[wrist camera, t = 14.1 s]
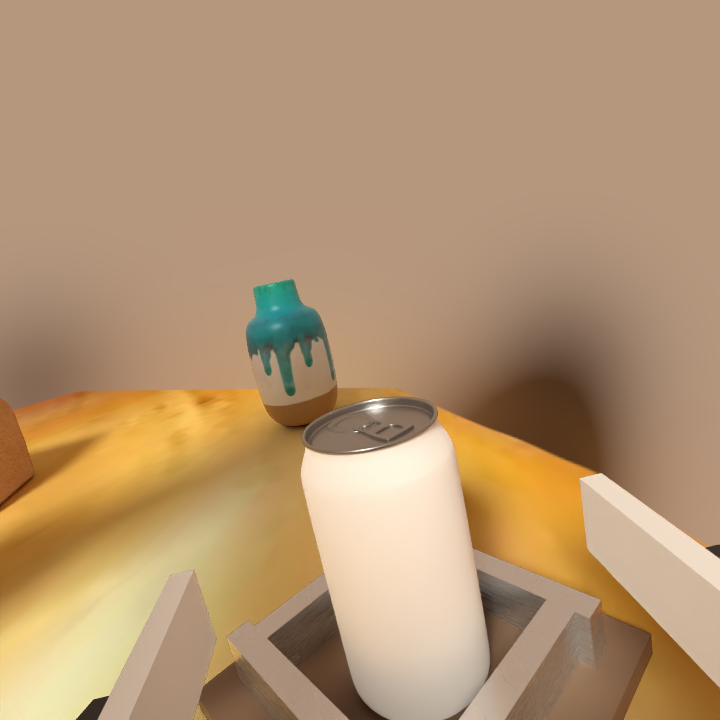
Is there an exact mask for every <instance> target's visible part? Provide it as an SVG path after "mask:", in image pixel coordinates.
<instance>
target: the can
mask: <svg viewBox="0 0 720 720" xmlns="http://www.w3.org/2000/svg"><path fill="white" fill-rule="evenodd" d="M437 415H438V411H437V408H436V407H435V405H434V404H432V403H431V402H429V401H427V400H424V399H420V398H415V397H385V398H377V399H371V400H366V401H361V402H357V403H353V404H350V405H347V406H344V407H341V408H338V409H335V410H333V411H331V412H328V413H326V414H324V415H322V416H321V417H319V418H317V419H316V420H314V421H313V422H312V423H310V424H309V425H308V426H307V427H306V428H305V430H304V431H303V433H302V437H301V439H302V443H303V444H304V446H305V453H304V458H303V462H302V467H301V480H302V485H303V490H304V494H305V498H306V503H307V507H308V511H309V515H310V519H311V523H312V527H313V531H314V534H315V538H316V542H317V546H318V550H319V554H320V558H321V562H322V566H323V570H324V574H325V578H326V581H327V585H328V589H329V593H330V597H331V601H332V605H333V609H334V612H335V616H336V620H337V624H338V628H339V632H340V635H341V639H342V643H343V647H344V651H345V654H346V658H347V662H348V666H349V669H350V673H351V676H352V680H353V683H354V685H355V688H356V690H357V692H358V694H359V695H360V697H361V698H362V700H363V701H364V702H365V703H366V704H367V705H368V706H369V707H370V708H371V709H372V710H373V711H375V712H376V713H378V714H379V715H381V716H383V717H385V718H387V719H389V720H446V719H448V718H450V717H452V716H454V715H456V714H457V713H459V712H460V711H461V710H463V709H464V708H465V707H467V706H468V705H469V704H470V703H471V702H472V701H473V699H474V698H475V697H476V695H477V694H478V693H479V691H480V690H481V689H482V687H483V686H484V684H485V681H486V679H487V676H488V672H489V667H490V649H489V642H488V635H487V629H486V623H485V617H484V611H483V605H482V599H481V593H480V588H479V582H478V576H477V570H476V565H475V559H474V553H473V547H472V542H471V536H470V530H469V524H468V519H467V513H466V508H465V502H464V496H463V491H462V485H461V480H460V474H459V469H458V463H457V458H456V454H455V449H454V446H453V442H452V440H451V438H450V436H449V435H448V433H447V432H446V431H445V429H444V428H443V427H442V425H441V424H440V423H439V421H438V420H437Z"/></svg>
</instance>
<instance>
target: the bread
mask: <svg viewBox="0 0 720 720" xmlns="http://www.w3.org/2000/svg"><path fill="white" fill-rule="evenodd" d="M34 473H35V471H34V468H33V465H32V462H31V459H30V456H29V453H28V449H27V446H26V442H25V440H24V437H23V435H22V432H21V430H20V427H19V425H18V422H17V419H16V416H15V414H14V412H13V411H12V409H11V408H10V406H9V405H8V403H7V402H5V401H4V400H2V399H0V504H2V503H3V502H4V501H5V500H6V499H7V498H9V497H10V496H11V495H12V494H13V493H14V492H15V491H17V490H18V489H19V488H20V487H21V486H22V485H23V484H25V483H26V482H27V481H28V480H29V479H30V478H31V477H32V476H33V475H34Z"/></svg>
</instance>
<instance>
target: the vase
mask: <svg viewBox="0 0 720 720" xmlns="http://www.w3.org/2000/svg"><path fill="white" fill-rule="evenodd" d="M253 291H254V296H255V302H256V308H257V311H256V315H255V317H254V318H253V319H252V320H251V321H250V322H249V324H248V325H247V330H246V339H247V346H248V352H249V356H250V361H251V365H252V369H253V373H254V377H255V380H256V383H257V387H258V390H259V393H260V396H261V398H262V401H263V404H264V406H265V408H266V410H267V412H268V414H269V415H270V416H271V417H272V418H273V419H274V420H275V421H276V422H278V423H280V424H283V425H287V426H299V425H305V424H309V423H312V422H313V421H314V420H316V419H317V418H319V417H321V416H322V415H324V414H326V413H328V412H331V410H332V409H333V408H334V406H335V403H336V399H337V382H336V375H335V369H334V363H333V359H332V354H331V350H330V346H329V342H328V338H327V334H326V331H325V328H324V325H323V322H322V320H321V317H320V316H319V314H318V313H317V311H315V309H313V308H310V307H307V306H305V305H303V303H302V302H301V300H300V298H299V295H298V292H297V289H296V285H295V282H294V280H293V279H291V280H286V281H281V282H276V283H272V284H267V285H262V286H258V287H254V288H253Z"/></svg>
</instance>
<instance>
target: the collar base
mask: <svg viewBox="0 0 720 720" xmlns="http://www.w3.org/2000/svg"><path fill="white" fill-rule="evenodd" d="M484 617H485V623H486V629H487V635H488V642H489V649H490V667H489V672H488V676H487V679H486V681H485V683H486V682H487V680H488V679H489V678H490V676H491V675H492V673H493V672H494V671H495V669H496V668H497V667H498V665H499V664H500V662H501V661H502V660H503V658H504V657H505V656H506V654H507V653H508V652H509V650H510V649H511V647H512V646H513V645H514V643H515V642H516V641H517V639H518V638H519V636H520V635H521V634H522V632H523V631H522V630H520V629H518V628H516V627H514V626H512V625H510V624H508V623H506V622H504V621H502V620H500V619H499V618H497V617H495V616H493V615H491V614H489V613H487V612H485V611H484ZM603 623H604V632H605V641H606V650H605V652H604V654H603V656H602V657H601V659H600V661H599V663H598V665H597V667H596V669H595V668H593V667H592V666H590V665H588V664H586V663H584V662H582V661H580V663H579V665H578V666H577V668H576V670H575V672H574V673H573V675H572V677H571V679H570V680H569V682H568V684H567V686H566V687H565V689H564V691H563V693H562V694H561V696H560V698H559V699H558V701H557V703H556V705H555V706H554V708H553V710H552V712H551V713H550V715H549V717H548V719H547V720H623V719H624V716H625V714H626V712H627V710H628V707H629V705H630V703H631V700H632V698H633V696H634V694H635V691H636V689H637V687H638V684H639V682H640V680H641V678H642V675H643V673H644V671H645V669H646V666H647V664H648V662H649V659H650V657H651V655H652V640H651V634H650V633H648V632H645V631H643V630H641V629H638V628H636V627H633V626H631V625H629V624H626V623H624V622H622V621H619V620H617V619H615V618H612V617H610V616H607V615H605V614H603ZM296 668H297V669H298V670H299V671H300V672H301V673H302V674H304V675H305V676H306V677H307V678H308V679H309V680H310V681H311V682H312V683H313V684H314V685H315V686H316V687H317V688H318V689H319V690H320V691H321V692H322V693H323V694H324V695H325V696H326V697H327V698H328V699H329V700H330V701H331V702H332V703H333V704H334V705H335V706H336V707H337V708H338V709H339V710H340V711H341V712H342V713H343V714H344V715H345V716H346V717H347V718H348V719H349V720H389V719H387V718H385V717H383V716H381V715H379V714H378V713H376V712H375V711H373V710H372V709H371V708H370V707H369V706H368V705H367V704H366V703H365V702H364V701H363V700H362V698H361V697H360V695H359V694H358V692H357V690H356V688H355V685H354V683H353V680H352V676H351V673H350V669H349V666H348V662H347V658H346V654H345V651H344V647H343V643H342V639H341V635H340V632H339V630H338V631H336V632H335V633H334V634H333V635H332V636H331V637H330V638H329V639H327V640H326V641H325V642H324V643H323V644H322V645H321V646H320V647H318V648H317V649H316V650H315V651H314V652H313V653H312V654H311V655H309V656H308V657H307V658H306V659H305V660H304V661H303V662H302V663H300V664H299V665H298V666H297V667H296ZM470 704H471V703H470ZM470 704H469V705H470ZM199 705H200V708H201V710H202V712H203V713H204V715H205V716H206V718H207V720H272V718H271V717H270V716H269V715H268V713H267V712H266V711H265V710H264V708H263V707H262V706H261V705H260V703H259V702H258V701H257V700H256V698H255V697H254V696H253V695H252V694H251V692H250V691H249V690H248V689H247V687H246V686H245V685H244V684H243V682H242V681H241V680H240V678H239V675H238V672H237V668H236V665H235V662H233V663H232V664H231V665H230V666H228V667H227V668H226V669H225V670H223V671H222V672H221V673H219V674H218V675H217V676H216V677H214V678H213V679H212V680H211V681H209V682H208V683H207V684H206V685H204V686H203V689H202V692H201V696H200V699H199ZM469 705H468V706H469ZM468 706H467V707H465V708H464V709H463V710H461V711H460V712H459V713H457V714H456V715H454V716H452V717H450V718H448V719H446V720H459V719H460V717H461V716H462V715H463V713H464V712H465V710H466V709H467V708H468Z"/></svg>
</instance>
